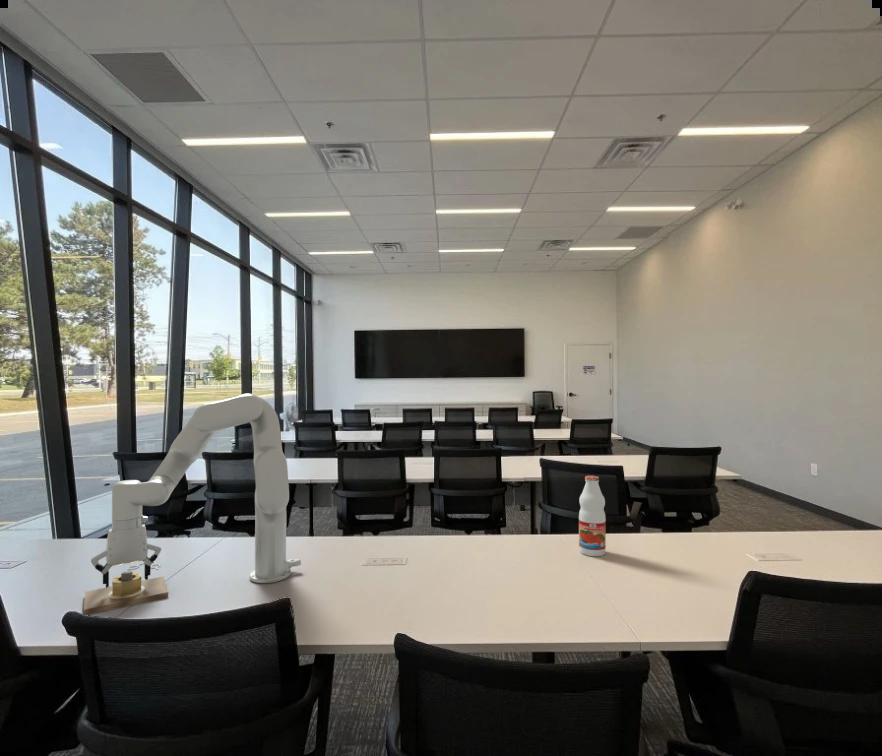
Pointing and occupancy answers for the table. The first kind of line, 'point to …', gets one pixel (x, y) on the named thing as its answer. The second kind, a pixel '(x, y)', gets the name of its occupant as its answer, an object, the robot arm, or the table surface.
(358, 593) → the table surface
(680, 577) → the table surface
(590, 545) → the fruit juice
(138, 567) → the scissors
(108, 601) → the post plate
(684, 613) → the table surface
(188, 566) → the table surface
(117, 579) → the ring
